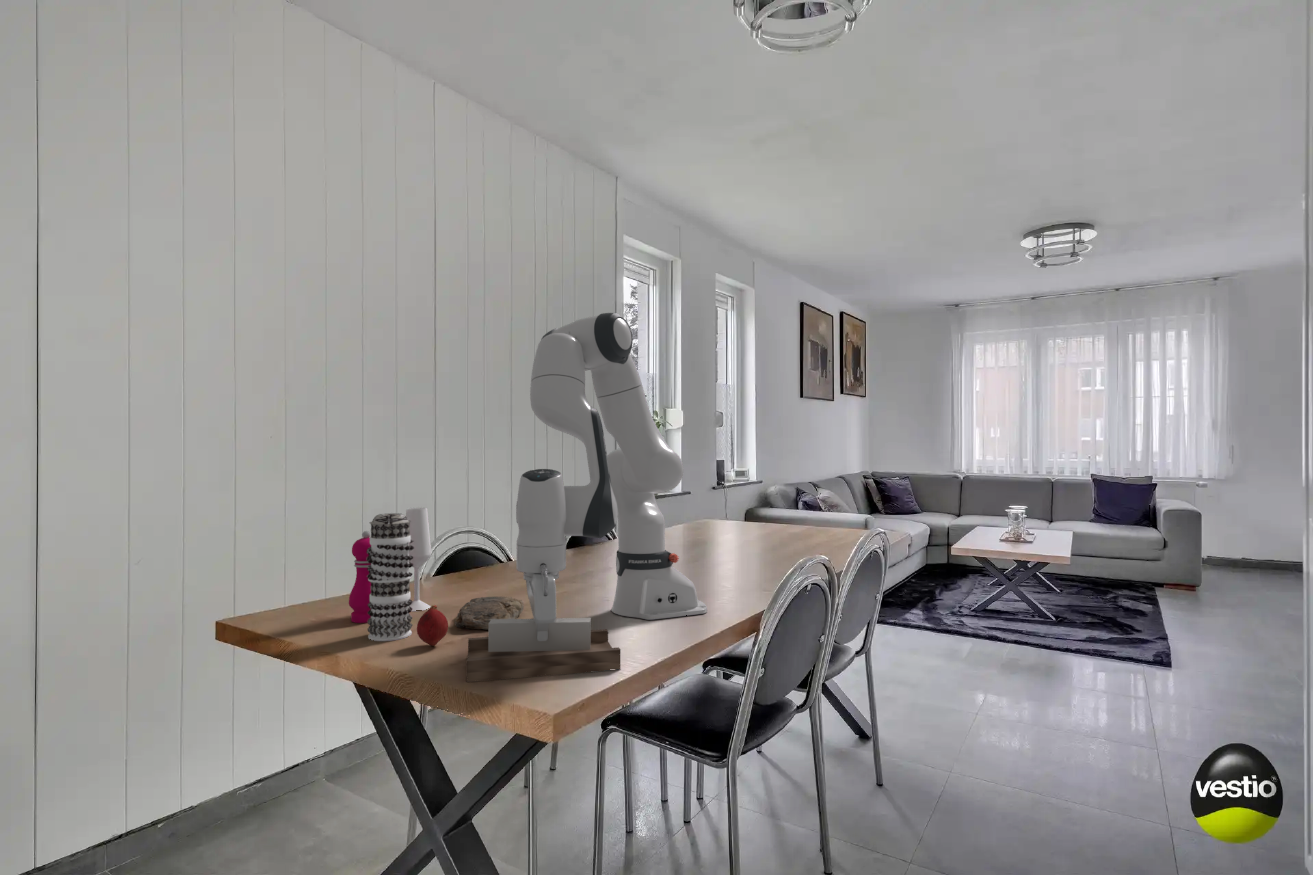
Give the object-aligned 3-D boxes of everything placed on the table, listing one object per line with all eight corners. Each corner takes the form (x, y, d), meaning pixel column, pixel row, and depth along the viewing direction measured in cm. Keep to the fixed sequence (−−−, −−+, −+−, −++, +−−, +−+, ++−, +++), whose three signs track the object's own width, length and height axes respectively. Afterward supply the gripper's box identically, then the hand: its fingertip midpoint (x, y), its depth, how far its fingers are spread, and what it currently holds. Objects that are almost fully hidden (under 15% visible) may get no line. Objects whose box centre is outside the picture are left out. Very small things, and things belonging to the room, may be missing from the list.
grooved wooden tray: (606, 646, 135) (606, 628, 135) (620, 669, 122) (620, 649, 122) (468, 656, 129) (468, 638, 129) (466, 681, 116) (466, 660, 116)
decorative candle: (423, 632, 146) (423, 513, 146) (390, 643, 138) (390, 517, 138) (390, 627, 150) (390, 511, 150) (356, 638, 141) (356, 515, 141)
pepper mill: (341, 623, 154) (341, 532, 154) (361, 615, 161) (361, 528, 161) (371, 624, 152) (371, 533, 153) (389, 616, 160) (389, 529, 160)
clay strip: (590, 644, 128) (590, 617, 128) (590, 649, 125) (590, 621, 125) (491, 646, 126) (491, 619, 126) (488, 651, 123) (488, 623, 123)
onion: (431, 651, 132) (431, 609, 132) (410, 647, 135) (410, 606, 135) (454, 644, 137) (454, 603, 137) (433, 640, 140) (433, 600, 140)
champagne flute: (436, 608, 167) (436, 508, 168) (408, 612, 163) (408, 510, 163) (424, 603, 172) (424, 506, 173) (397, 607, 168) (397, 508, 168)
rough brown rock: (500, 635, 145) (530, 610, 165) (499, 612, 145) (529, 590, 165) (436, 634, 147) (473, 610, 167) (435, 611, 147) (473, 590, 167)
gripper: (565, 569, 116) (564, 651, 116) (553, 550, 136) (553, 621, 136) (526, 570, 115) (526, 654, 115) (520, 551, 135) (520, 623, 135)
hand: (541, 636), depth 126 cm, fingers closed on clay strip, 3 cm apart
